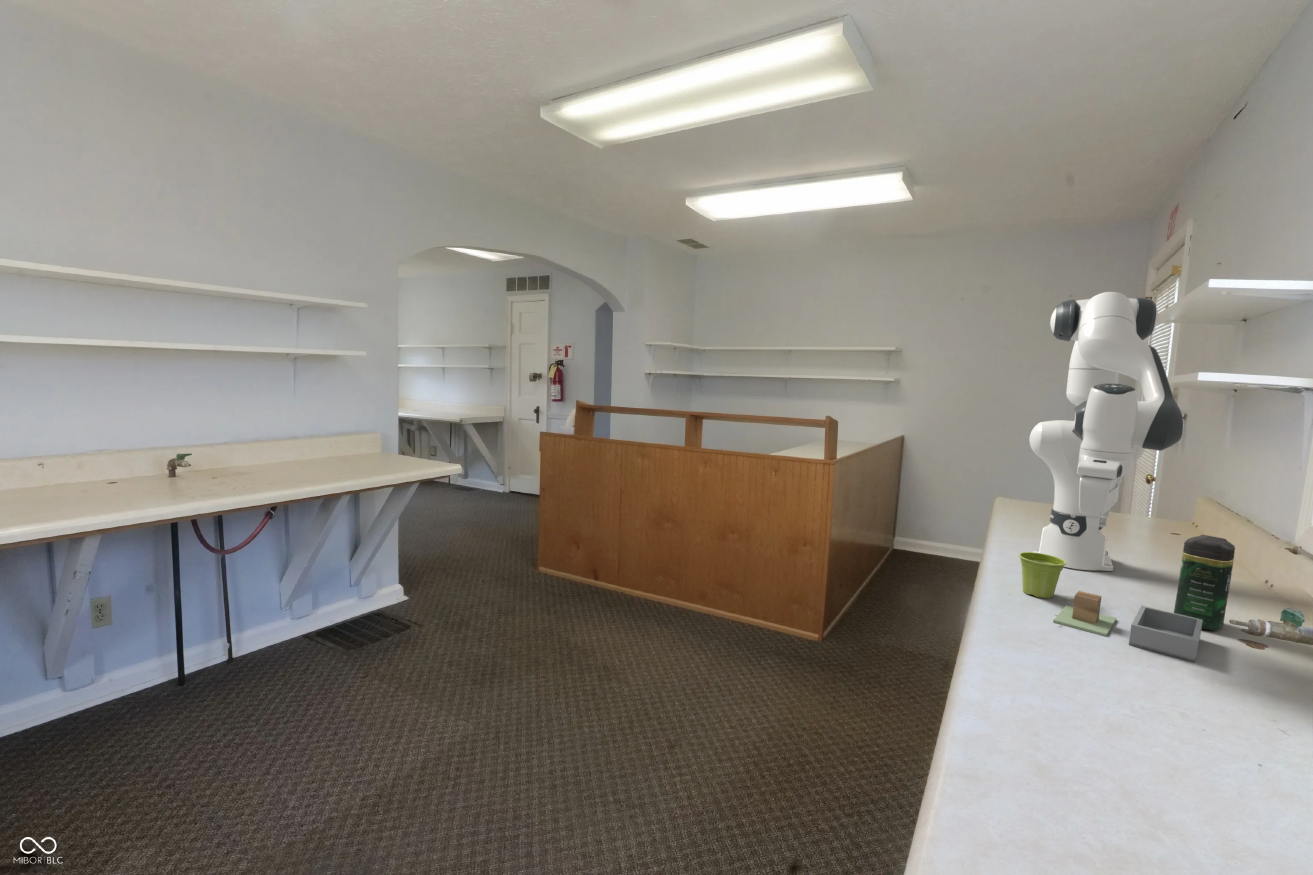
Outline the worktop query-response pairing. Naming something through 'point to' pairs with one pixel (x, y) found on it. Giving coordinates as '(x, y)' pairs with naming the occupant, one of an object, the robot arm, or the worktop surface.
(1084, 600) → the walnut block
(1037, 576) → the plant pot
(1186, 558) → the coffee jar
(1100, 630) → the olive mat
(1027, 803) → the worktop surface
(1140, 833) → the worktop surface
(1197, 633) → the grey bin
